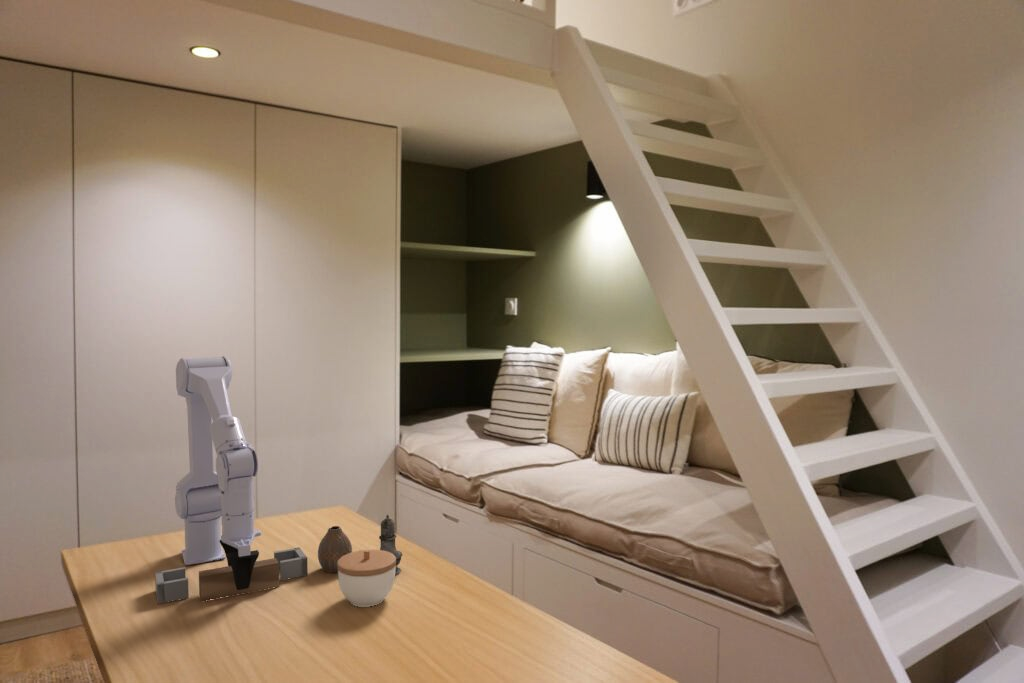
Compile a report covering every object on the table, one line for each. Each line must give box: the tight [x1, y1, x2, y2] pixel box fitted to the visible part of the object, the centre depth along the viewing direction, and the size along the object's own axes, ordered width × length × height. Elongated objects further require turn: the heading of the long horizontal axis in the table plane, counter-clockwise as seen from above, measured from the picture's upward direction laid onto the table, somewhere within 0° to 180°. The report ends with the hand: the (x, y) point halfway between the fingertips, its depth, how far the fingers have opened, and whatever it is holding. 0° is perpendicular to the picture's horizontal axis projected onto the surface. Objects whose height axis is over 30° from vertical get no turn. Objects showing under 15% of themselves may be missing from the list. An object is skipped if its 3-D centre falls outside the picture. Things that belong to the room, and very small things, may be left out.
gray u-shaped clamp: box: [154, 566, 190, 605], centre depth 132 cm, size 7×5×4 cm
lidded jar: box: [337, 549, 396, 608], centre depth 129 cm, size 11×11×9 cm
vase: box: [317, 525, 353, 574], centre depth 144 cm, size 7×7×9 cm
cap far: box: [273, 546, 309, 581], centre depth 143 cm, size 7×5×4 cm
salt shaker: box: [378, 514, 403, 576], centre depth 143 cm, size 6×6×12 cm
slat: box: [198, 557, 280, 602], centre depth 133 cm, size 3×14×5 cm, turn 119°
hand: (239, 581), depth 133 cm, fingers open, 7 cm apart
